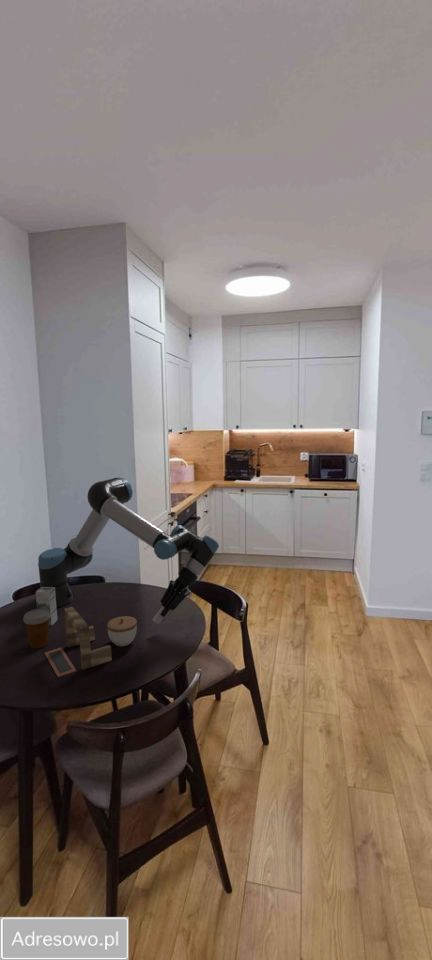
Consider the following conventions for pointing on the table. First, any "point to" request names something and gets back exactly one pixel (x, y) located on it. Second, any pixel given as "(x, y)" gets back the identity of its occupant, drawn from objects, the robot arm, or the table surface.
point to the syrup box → (47, 602)
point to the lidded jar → (122, 630)
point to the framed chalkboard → (60, 662)
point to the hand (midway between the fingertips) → (155, 622)
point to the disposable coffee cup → (37, 627)
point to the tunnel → (84, 640)
